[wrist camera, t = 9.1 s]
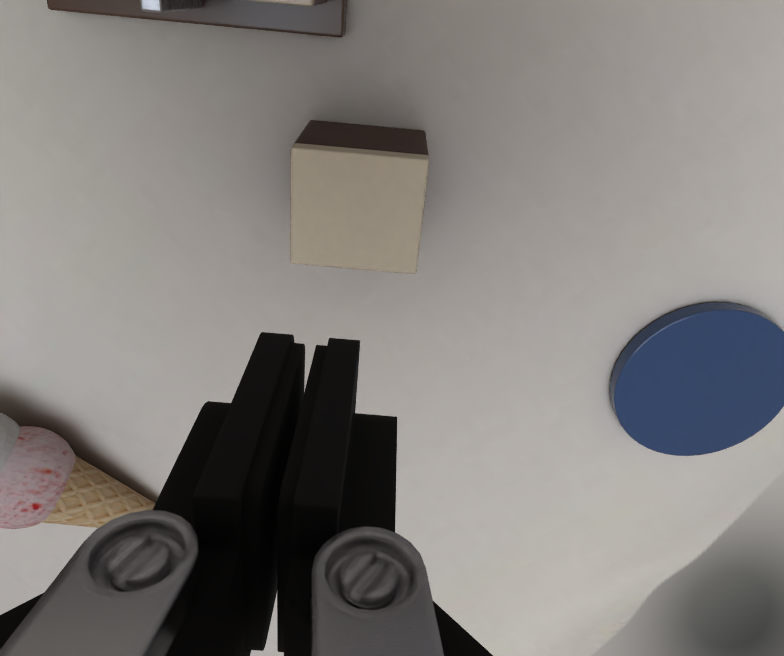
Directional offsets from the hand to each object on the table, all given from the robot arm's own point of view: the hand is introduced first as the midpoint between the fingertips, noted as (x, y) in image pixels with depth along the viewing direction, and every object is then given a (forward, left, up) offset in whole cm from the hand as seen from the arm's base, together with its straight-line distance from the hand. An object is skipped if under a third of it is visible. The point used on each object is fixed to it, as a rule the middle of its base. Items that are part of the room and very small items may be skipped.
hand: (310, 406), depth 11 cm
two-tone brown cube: (0, 0, -15) cm, 15 cm away
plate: (+8, +16, -15) cm, 24 cm away
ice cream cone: (+16, -13, -15) cm, 26 cm away
